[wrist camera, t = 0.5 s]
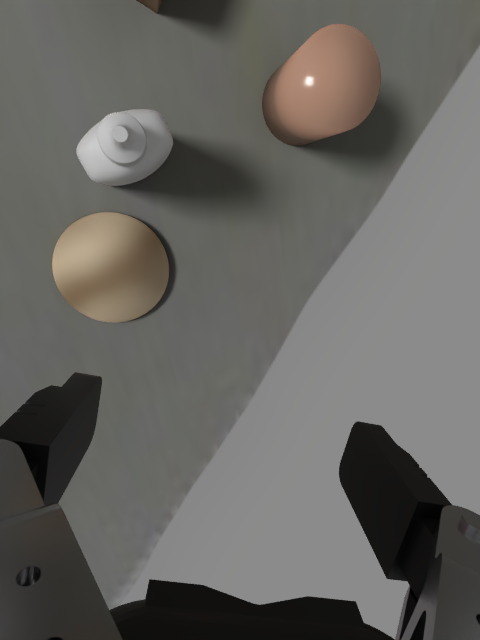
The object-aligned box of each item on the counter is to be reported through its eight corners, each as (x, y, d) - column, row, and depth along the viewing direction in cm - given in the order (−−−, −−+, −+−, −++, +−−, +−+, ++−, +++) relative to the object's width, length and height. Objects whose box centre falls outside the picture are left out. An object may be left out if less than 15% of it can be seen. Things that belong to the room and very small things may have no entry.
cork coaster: (29, 271, 29) (26, 273, 29) (104, 187, 29) (103, 186, 28) (121, 340, 33) (120, 342, 32) (190, 265, 32) (191, 266, 32)
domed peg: (246, 102, 29) (275, 75, 23) (300, 43, 29) (344, -1, 22) (295, 161, 31) (333, 153, 25) (345, 108, 31) (397, 85, 25)
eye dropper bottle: (90, 121, 27) (51, 70, 16) (168, 131, 29) (182, 90, 17) (92, 184, 28) (58, 177, 17) (167, 191, 30) (179, 188, 19)
